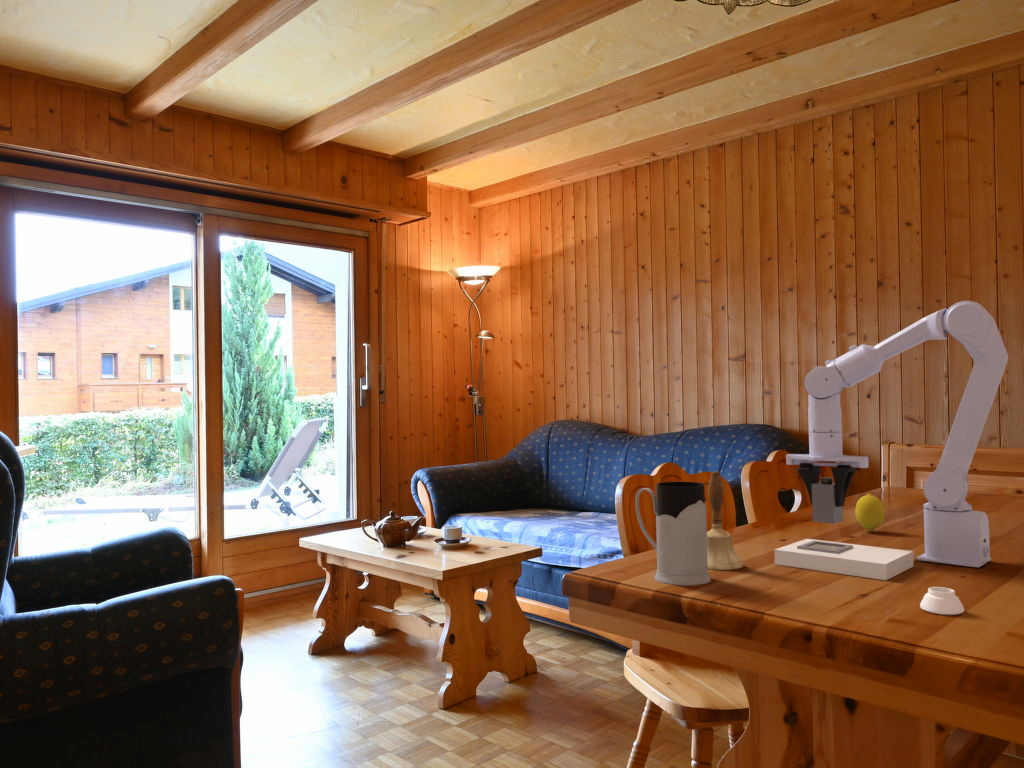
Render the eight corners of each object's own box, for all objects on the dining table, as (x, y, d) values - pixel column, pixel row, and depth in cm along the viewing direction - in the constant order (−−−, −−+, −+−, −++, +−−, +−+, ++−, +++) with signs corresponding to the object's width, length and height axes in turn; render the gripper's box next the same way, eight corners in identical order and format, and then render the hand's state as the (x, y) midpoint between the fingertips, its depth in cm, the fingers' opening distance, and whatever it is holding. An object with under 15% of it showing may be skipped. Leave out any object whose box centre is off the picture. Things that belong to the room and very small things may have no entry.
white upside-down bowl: (972, 613, 100) (935, 605, 105) (971, 591, 100) (934, 583, 105) (948, 619, 98) (912, 610, 102) (948, 596, 98) (911, 588, 102)
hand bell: (684, 565, 131) (682, 472, 131) (709, 558, 137) (707, 468, 137) (728, 573, 125) (725, 475, 125) (752, 564, 131) (750, 471, 131)
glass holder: (685, 588, 115) (682, 488, 116) (619, 572, 127) (617, 481, 127) (722, 579, 121) (720, 484, 121) (655, 564, 132) (653, 477, 132)
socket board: (913, 566, 127) (913, 548, 127) (885, 580, 118) (885, 561, 118) (807, 552, 140) (806, 536, 140) (774, 564, 131) (774, 547, 131)
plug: (843, 520, 142) (841, 477, 142) (834, 523, 139) (833, 479, 139) (821, 518, 145) (820, 476, 145) (812, 521, 142) (811, 478, 142)
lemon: (857, 533, 158) (856, 494, 158) (854, 529, 163) (853, 491, 163) (887, 534, 156) (886, 495, 156) (882, 530, 161) (881, 492, 161)
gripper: (778, 432, 144) (780, 504, 144) (857, 433, 134) (859, 511, 134) (794, 430, 149) (796, 500, 149) (871, 431, 139) (874, 506, 139)
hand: (827, 505), depth 142 cm, fingers closed on plug, 4 cm apart
